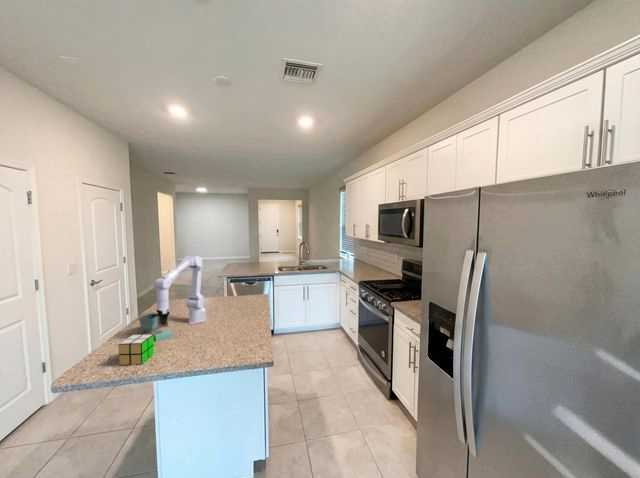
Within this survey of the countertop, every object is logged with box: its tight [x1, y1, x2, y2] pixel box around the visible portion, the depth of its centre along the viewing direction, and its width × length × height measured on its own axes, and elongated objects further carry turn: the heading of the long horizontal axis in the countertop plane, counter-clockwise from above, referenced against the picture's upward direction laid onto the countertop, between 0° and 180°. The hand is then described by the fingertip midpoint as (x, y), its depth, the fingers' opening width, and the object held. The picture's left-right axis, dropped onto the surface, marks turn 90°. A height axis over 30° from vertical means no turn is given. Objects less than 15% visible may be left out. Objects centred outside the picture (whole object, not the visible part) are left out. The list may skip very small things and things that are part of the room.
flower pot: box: [138, 312, 160, 333], centre depth 154 cm, size 9×9×9 cm
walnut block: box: [158, 316, 169, 329], centre depth 145 cm, size 4×4×6 cm
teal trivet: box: [153, 328, 174, 342], centre depth 145 cm, size 8×8×3 cm
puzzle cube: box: [118, 334, 155, 366], centre depth 120 cm, size 10×10×10 cm
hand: (163, 323), depth 145 cm, fingers closed on walnut block, 4 cm apart
